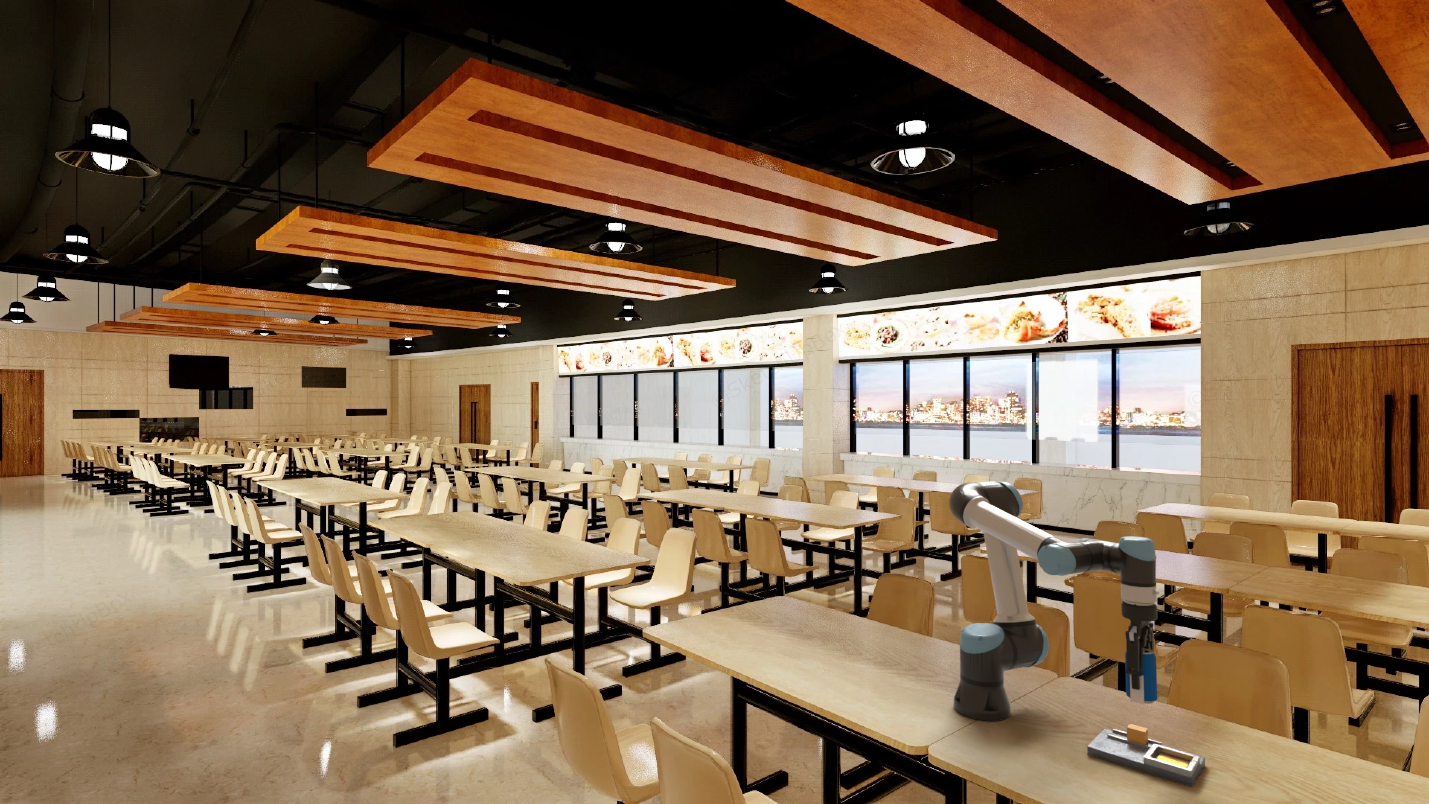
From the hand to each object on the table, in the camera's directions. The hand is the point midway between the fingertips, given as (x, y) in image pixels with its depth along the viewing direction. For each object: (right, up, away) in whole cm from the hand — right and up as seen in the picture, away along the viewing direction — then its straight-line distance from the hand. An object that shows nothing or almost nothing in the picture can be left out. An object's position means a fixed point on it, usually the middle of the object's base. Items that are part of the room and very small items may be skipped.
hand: (1141, 697), depth 172 cm
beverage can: (0, -1, 0) cm, 1 cm away
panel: (+2, -16, +2) cm, 16 cm away
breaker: (+3, -14, +7) cm, 16 cm away
